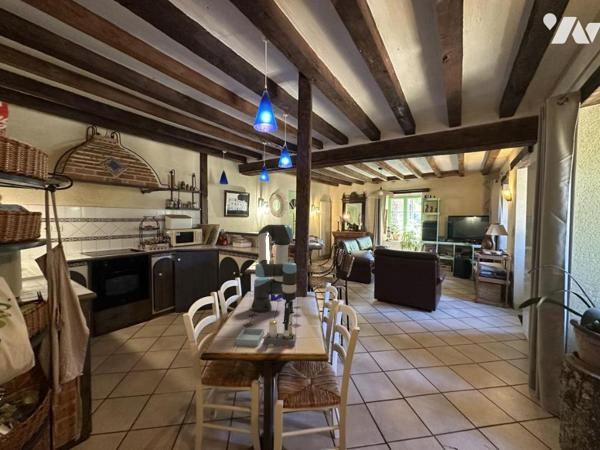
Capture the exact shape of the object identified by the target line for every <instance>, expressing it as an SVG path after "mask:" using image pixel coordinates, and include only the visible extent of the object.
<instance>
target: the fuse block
mask: <svg viewBox="0 0 600 450" xmlns="http://www.w3.org/2000/svg"><path fill="white" fill-rule="evenodd" d="M296 342H297V334H296V333H292V340H289V339H284V332H282V333H281V332H280V333H279V332H277V339H274V338H269V331H268V332H267V333H266V334H265V337H264V339H263V346H264V345H266V346H267V345H268V347H274V346H280V347H284V348H290V347H296Z"/></svg>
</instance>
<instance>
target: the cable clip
mask: <svg viewBox="0 0 600 450" xmlns="http://www.w3.org/2000/svg"><path fill="white" fill-rule="evenodd" d="M278 299H279V300H280V299H282V295H270V301H273V300H274V301H273V302H275V301H278Z"/></svg>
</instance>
